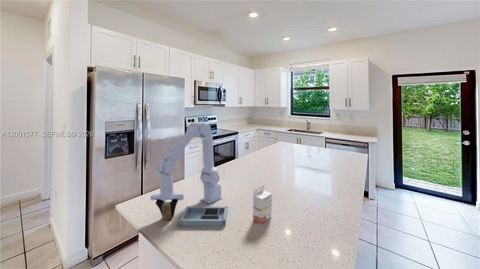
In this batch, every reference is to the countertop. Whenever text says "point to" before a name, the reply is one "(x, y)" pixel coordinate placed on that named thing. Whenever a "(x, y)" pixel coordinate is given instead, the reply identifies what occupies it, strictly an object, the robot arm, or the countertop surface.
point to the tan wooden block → (166, 212)
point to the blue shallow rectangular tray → (204, 216)
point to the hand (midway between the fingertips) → (168, 214)
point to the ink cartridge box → (261, 205)
